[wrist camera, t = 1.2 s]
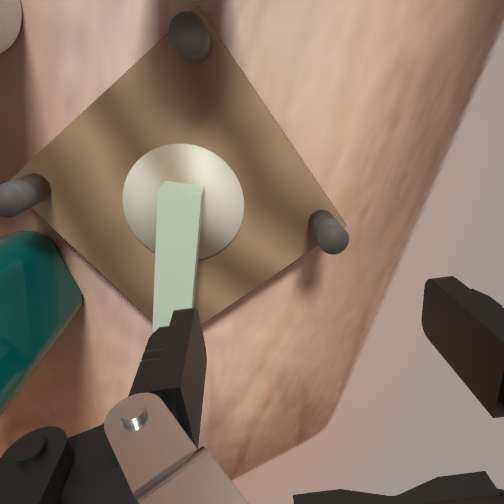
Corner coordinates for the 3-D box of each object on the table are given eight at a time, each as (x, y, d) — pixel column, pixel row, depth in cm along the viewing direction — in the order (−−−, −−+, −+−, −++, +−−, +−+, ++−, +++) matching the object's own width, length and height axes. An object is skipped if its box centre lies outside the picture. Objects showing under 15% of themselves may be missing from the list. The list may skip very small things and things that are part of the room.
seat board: (200, 13, 23) (186, -27, 16) (339, 217, 30) (374, 256, 22) (20, 177, 27) (-59, 206, 20) (178, 329, 33) (162, 394, 26)
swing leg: (193, 313, 30) (189, 334, 27) (159, 310, 29) (152, 331, 27) (204, 185, 25) (201, 195, 23) (165, 180, 25) (157, 189, 23)
